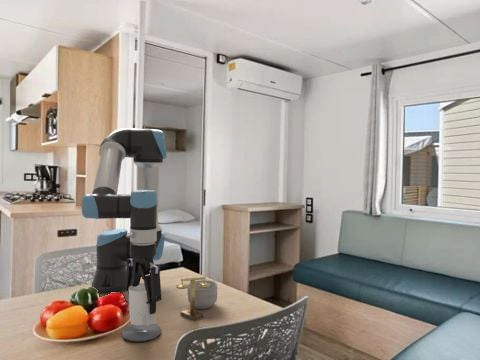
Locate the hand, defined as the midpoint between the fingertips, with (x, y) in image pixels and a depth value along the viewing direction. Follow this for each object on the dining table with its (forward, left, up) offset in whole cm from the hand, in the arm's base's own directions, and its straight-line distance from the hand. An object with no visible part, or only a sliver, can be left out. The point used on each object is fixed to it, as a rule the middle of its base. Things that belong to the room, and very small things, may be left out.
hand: (142, 319), depth 106 cm
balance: (+1, +19, -4) cm, 20 cm away
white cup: (0, 0, -1) cm, 1 cm away
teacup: (-4, +29, -5) cm, 30 cm away
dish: (0, 0, -4) cm, 4 cm away
